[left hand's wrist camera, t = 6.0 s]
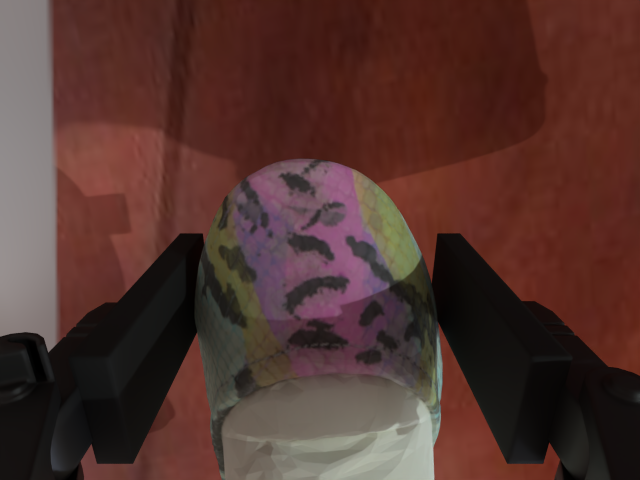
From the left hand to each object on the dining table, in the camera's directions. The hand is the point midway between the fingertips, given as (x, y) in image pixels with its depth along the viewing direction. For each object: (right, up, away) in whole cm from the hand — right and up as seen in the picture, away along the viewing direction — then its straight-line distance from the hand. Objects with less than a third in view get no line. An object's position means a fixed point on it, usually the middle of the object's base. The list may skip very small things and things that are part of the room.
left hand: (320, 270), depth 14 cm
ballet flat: (0, -6, +4) cm, 8 cm away
